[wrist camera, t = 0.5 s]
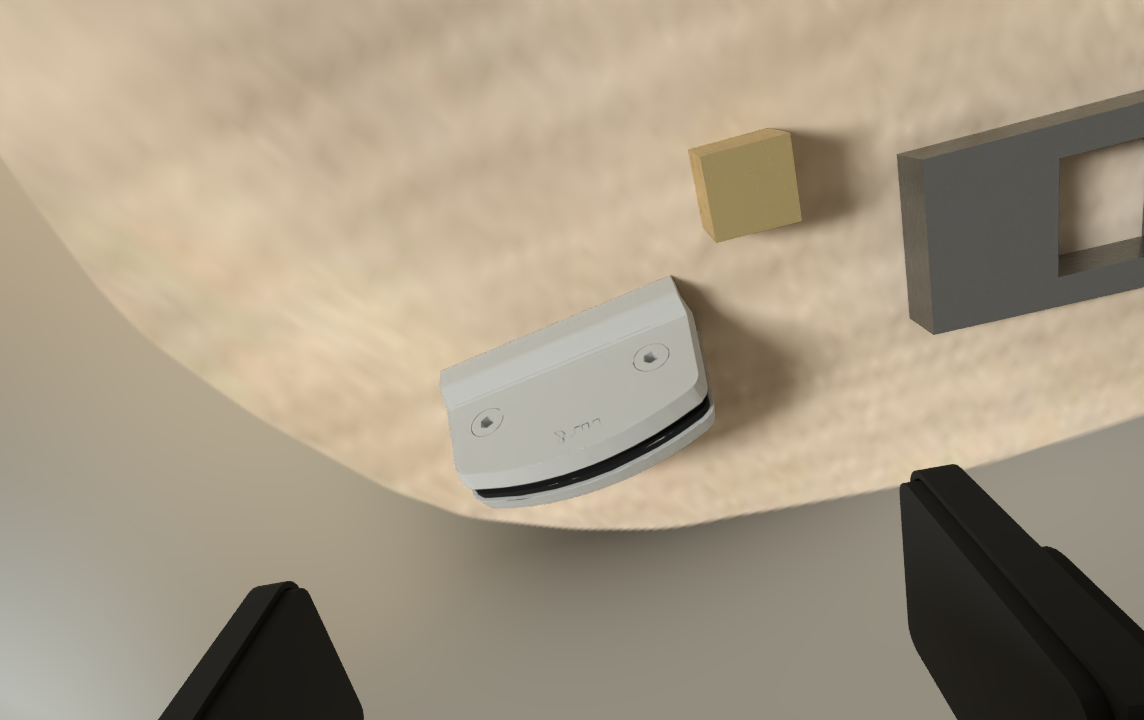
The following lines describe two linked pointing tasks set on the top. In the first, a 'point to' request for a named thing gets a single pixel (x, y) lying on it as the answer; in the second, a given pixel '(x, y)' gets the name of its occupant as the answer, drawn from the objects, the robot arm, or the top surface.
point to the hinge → (580, 401)
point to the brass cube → (746, 184)
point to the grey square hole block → (1008, 220)
